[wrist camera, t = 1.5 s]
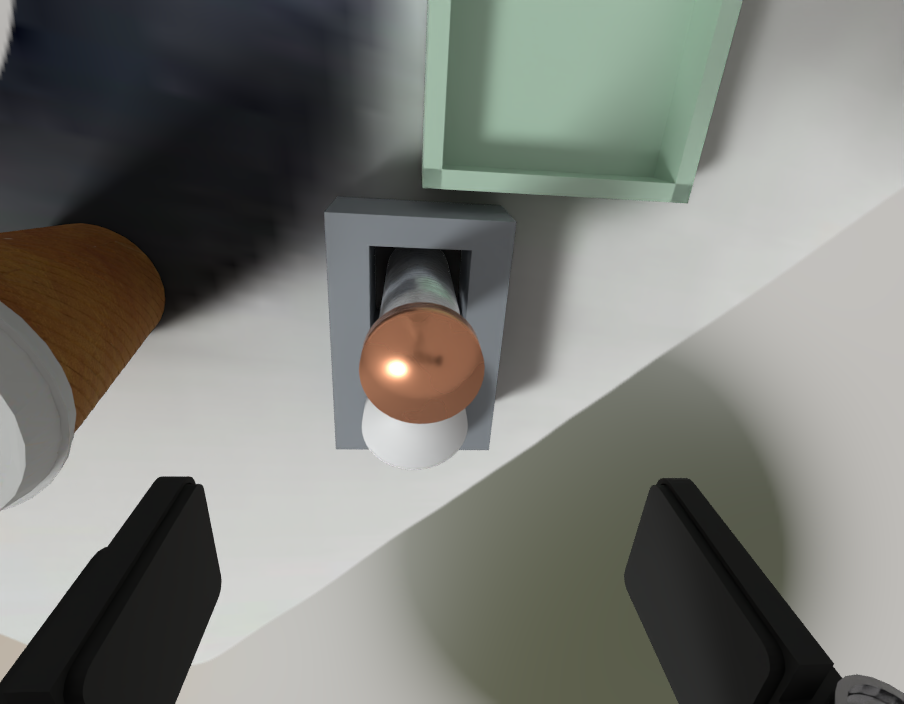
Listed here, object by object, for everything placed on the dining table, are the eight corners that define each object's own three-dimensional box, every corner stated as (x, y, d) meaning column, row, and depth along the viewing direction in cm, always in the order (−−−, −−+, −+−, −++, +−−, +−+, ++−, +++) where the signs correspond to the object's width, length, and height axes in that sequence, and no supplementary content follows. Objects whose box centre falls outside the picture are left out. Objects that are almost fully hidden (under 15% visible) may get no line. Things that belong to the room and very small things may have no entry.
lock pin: (379, 229, 24) (357, 311, 14) (458, 233, 25) (490, 315, 15) (379, 304, 26) (360, 423, 16) (453, 307, 26) (478, 424, 17)
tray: (435, -238, 17) (440, -298, 15) (753, -193, 18) (808, -241, 16) (421, 179, 23) (422, 187, 21) (659, 193, 24) (687, 203, 22)
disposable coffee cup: (200, 212, 23) (19, 300, 13) (197, 382, 27) (59, 558, 17) (-26, 165, 22) (-455, 219, 11) (7, 352, 26) (-284, 526, 15)
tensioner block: (337, 196, 23) (317, 220, 18) (501, 205, 24) (524, 230, 19) (345, 406, 29) (331, 469, 24) (479, 408, 29) (493, 469, 24)
